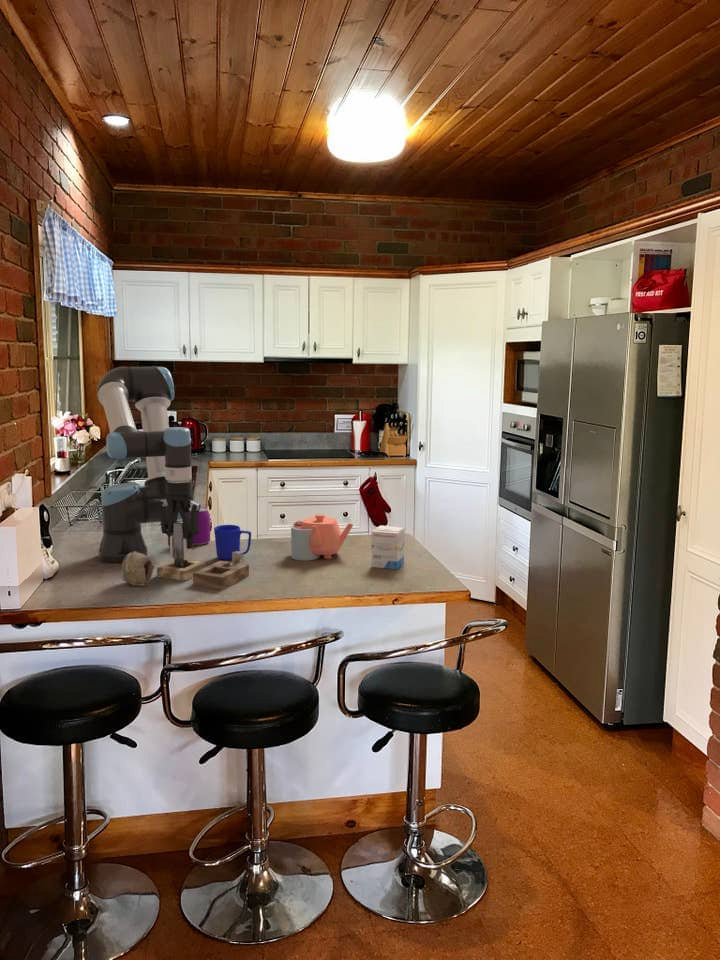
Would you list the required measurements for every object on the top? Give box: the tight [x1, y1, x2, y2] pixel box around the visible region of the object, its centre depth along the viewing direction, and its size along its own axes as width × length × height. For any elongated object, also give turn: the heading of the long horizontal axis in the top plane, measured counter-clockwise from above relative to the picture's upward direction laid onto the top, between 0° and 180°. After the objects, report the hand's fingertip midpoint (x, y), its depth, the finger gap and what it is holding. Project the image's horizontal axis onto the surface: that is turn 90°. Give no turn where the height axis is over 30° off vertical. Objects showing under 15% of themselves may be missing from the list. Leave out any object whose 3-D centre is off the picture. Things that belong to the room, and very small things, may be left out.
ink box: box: [371, 525, 406, 570], centre depth 240 cm, size 9×8×12 cm
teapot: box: [292, 513, 354, 560], centre depth 250 cm, size 16×17×14 cm
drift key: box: [229, 550, 245, 568], centre depth 229 cm, size 8×3×6 cm, turn 158°
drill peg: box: [173, 520, 189, 569], centre depth 227 cm, size 4×4×15 cm
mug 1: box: [213, 524, 252, 561], centre depth 245 cm, size 8×12×10 cm
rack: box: [156, 559, 206, 582], centre depth 229 cm, size 10×10×3 cm
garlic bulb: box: [121, 551, 155, 586], centre depth 220 cm, size 9×8×10 cm
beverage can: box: [189, 506, 211, 546], centre depth 263 cm, size 8×8×12 cm
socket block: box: [192, 560, 250, 590], centre depth 223 cm, size 14×10×4 cm
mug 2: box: [290, 523, 321, 561], centre depth 248 cm, size 14×9×10 cm
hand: (180, 557), depth 228 cm, fingers closed on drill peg, 4 cm apart
